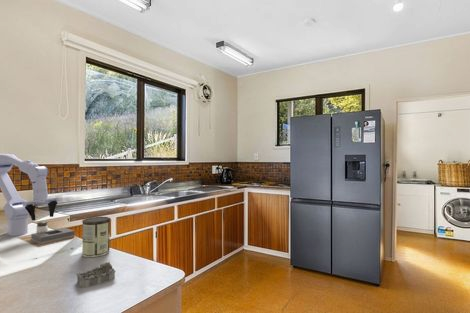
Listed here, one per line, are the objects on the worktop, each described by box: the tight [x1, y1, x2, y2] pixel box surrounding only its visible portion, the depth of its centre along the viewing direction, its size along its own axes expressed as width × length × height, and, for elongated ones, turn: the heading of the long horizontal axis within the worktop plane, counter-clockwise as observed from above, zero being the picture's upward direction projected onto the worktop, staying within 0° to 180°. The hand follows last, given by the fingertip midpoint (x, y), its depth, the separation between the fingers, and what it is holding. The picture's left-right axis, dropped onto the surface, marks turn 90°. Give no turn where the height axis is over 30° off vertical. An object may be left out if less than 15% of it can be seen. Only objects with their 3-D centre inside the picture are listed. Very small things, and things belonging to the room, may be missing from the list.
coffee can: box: [81, 216, 111, 258], centre depth 111 cm, size 10×10×14 cm
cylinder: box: [35, 221, 49, 233], centre depth 131 cm, size 4×4×6 cm
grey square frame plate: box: [30, 227, 75, 244], centre depth 127 cm, size 14×10×3 cm
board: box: [16, 234, 80, 248], centre depth 128 cm, size 24×17×1 cm
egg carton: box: [75, 261, 117, 288], centre depth 87 cm, size 11×8×4 cm
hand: (42, 218), depth 130 cm, fingers open, 7 cm apart
